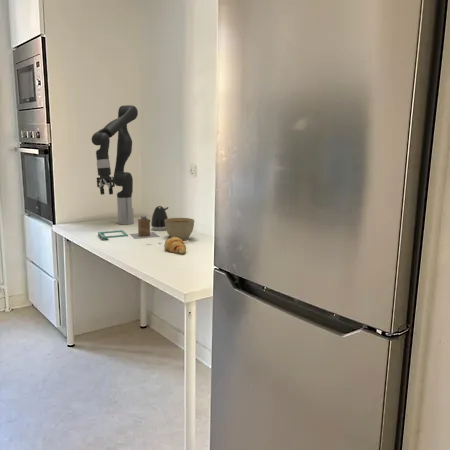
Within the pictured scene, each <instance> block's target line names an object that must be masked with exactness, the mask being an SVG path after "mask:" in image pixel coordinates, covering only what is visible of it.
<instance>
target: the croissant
mask: <svg viewBox="0 0 450 450" xmlns="http://www.w3.org/2000/svg"><path fill="white" fill-rule="evenodd" d="M183 240H184V239H180V238H178V237H172V238H171V237H170V238H168V239H167V240H165V242H164V245H163V246H164V249H165V250H166V251H168V252H169V253H174V254H179V255H181V254H182V255H183V254H185V253H186V251H187V247H186V244H185V242H184V241H183Z"/></svg>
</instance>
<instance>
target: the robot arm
mask: <svg viewBox="0 0 450 450" xmlns="http://www.w3.org/2000/svg"><path fill="white" fill-rule="evenodd" d="M117 114H118V115H117V118H115V119H113V120H111V121H110V122H108V123H107V124H106V125H105V126H104V127H103V128H101V129H99V130H98V131H96V132H94V134H92V136H91V142H92V144H93V145H94V146H100V147H99V149H96V151H95V156H96V167H97V176H98V177H96V187H97V188H99V191H100V195H102V196H103V195H105V188H104V187H105V185H106V186H107V188H108V194H109V195H113V194H114V189H113V188H115V187H121V189H122V190H121V191H119V192H117V193H116V201H117V206H116V207H117V224H118V225H131V224H133V223H135V222H134V208H133V192H134V191H133V189H134V188H133V187H134V186H133V185H134V181H133V176H132V173H131V172H128V171H125V167H126V166H125V165H126V163H127V161H128V159H129V158H130V156H131V154H132V152H133V140H132V137H131V135H130V133H129V130H128V124H129V123H131V122H133V121H134V120H136V119H137V118H138V114H139V113H138V109H137V107H136V106H135V105H133V104H131V105H130V104H129V105H128V104H127V105H120V106H119V108H118V110H117ZM116 134H117V143H116V144H117V145H116V159H115V160H116V161H115V167H114V172H113V176H111V175H112V170H111V169H112V168H111V163H110V157H109V148H110V143H111V142H110V139H111V138H112V137H113V136H115V135H116Z"/></svg>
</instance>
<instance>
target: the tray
mask: <svg viewBox="0 0 450 450" xmlns="http://www.w3.org/2000/svg"><path fill="white" fill-rule="evenodd" d="M113 233H122V234H118V235H106V234H113ZM97 237H99V239H100V240H101V241H109V240H110V238H121V237H122V238H124V237H129V233H127V232H125V230H123V229H121V230H120V229H119V230H109V231H108V230H107V231H98V232H97Z"/></svg>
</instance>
